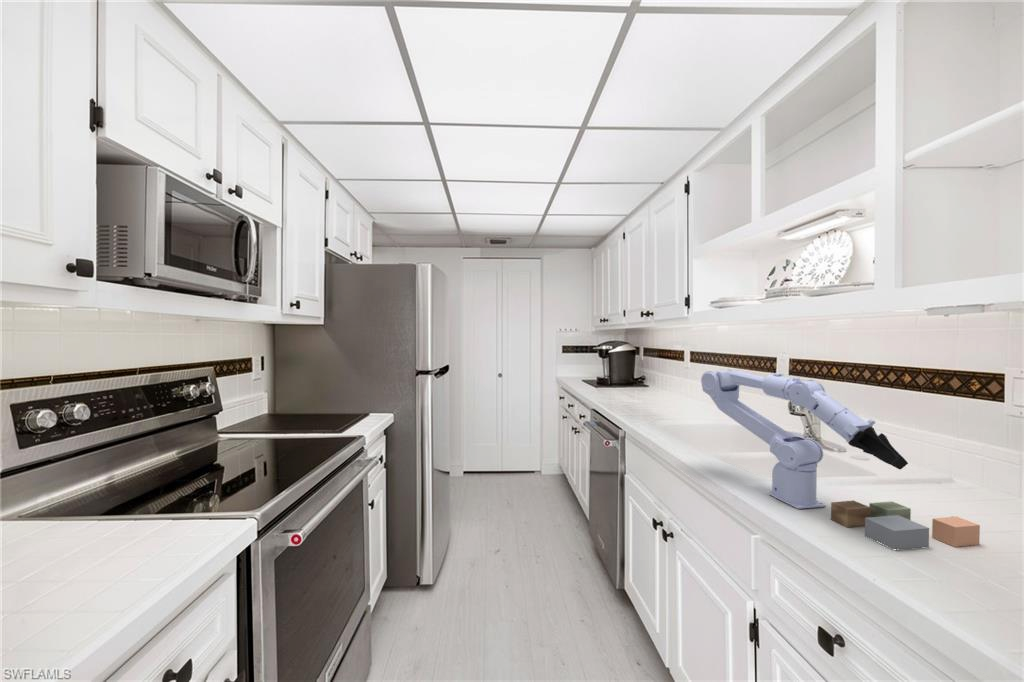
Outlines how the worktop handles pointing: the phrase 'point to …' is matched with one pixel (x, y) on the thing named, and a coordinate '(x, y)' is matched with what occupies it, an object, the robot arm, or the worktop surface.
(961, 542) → the terracotta brick
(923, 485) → the worktop surface
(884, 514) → the sage brick
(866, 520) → the slate brick
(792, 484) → the robot arm
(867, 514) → the walnut brick
